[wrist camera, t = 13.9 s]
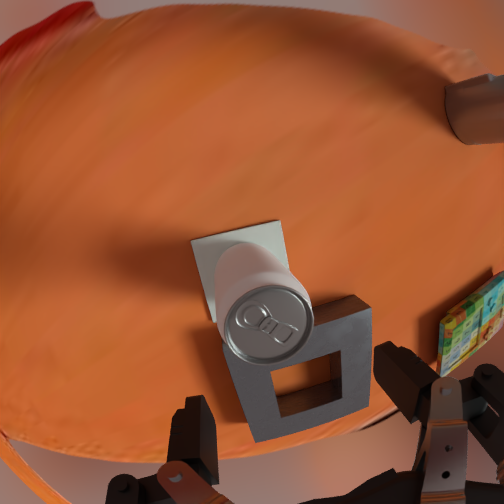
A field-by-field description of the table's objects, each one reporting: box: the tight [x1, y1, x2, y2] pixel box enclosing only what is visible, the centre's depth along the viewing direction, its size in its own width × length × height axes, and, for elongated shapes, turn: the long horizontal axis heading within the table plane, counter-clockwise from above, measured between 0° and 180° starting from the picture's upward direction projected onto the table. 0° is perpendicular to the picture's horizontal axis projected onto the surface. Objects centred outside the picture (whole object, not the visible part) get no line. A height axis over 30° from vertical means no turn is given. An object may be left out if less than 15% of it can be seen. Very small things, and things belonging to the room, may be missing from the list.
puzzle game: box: [436, 271, 504, 377], centre depth 34 cm, size 12×5×20 cm
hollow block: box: [222, 295, 372, 443], centre depth 30 cm, size 16×16×4 cm
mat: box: [191, 220, 289, 323], centre depth 28 cm, size 9×9×1 cm
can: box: [214, 243, 314, 366], centre depth 22 cm, size 6×6×12 cm
